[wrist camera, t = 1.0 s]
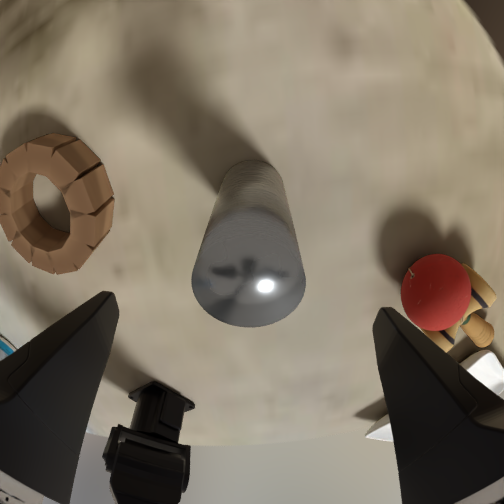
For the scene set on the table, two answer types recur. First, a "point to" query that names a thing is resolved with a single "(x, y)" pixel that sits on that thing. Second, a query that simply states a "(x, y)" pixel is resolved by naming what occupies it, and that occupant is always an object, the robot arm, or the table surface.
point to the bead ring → (75, 195)
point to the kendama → (447, 300)
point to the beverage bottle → (5, 348)
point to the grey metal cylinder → (249, 251)
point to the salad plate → (477, 365)
